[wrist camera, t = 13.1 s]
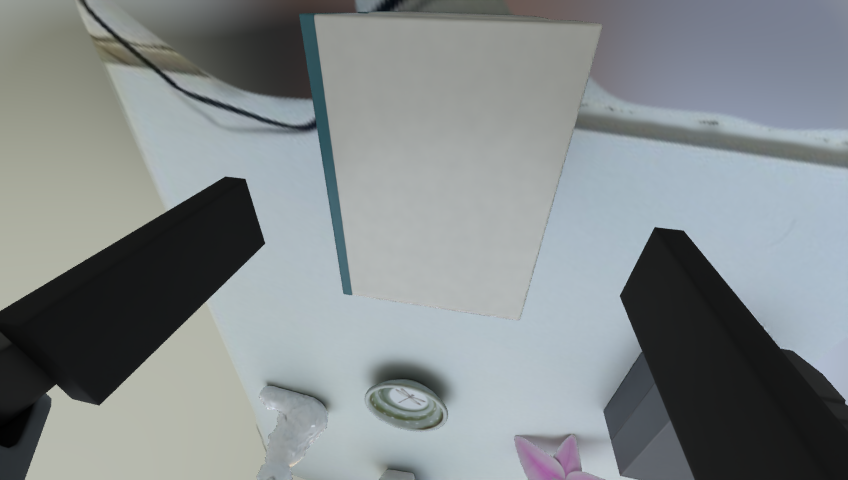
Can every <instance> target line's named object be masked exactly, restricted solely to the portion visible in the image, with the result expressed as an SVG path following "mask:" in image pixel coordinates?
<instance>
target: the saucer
mask: <svg viewBox="0 0 848 480" xmlns="http://www.w3.org/2000/svg"><path fill="white" fill-rule="evenodd" d="M365 404H366V406H367V408H368V410H369V411H370V412H371V413H372V414H373V415H374V416H375V417H377V418H378V419H379V420H381V421H383V422H385V423H387V424H389V425H391V426H394V427H396V428H400V429H403V430H408V431H416V432H425V431H432V430H435V429H438V428H440V427H441V426H443V425H444V424H445V423H446V421H447V418H448V411H447V408H446V406H445V404H444V403H443V402H442V401H441V400H440V399H439V397H438V396H437V395H436V394H435V393H434V392H433V391H431V390H430V389H428V388H427V387H425V386H424V385H422V384H421V383H419V382H416V381H413V380H409V379H398V380H389V381H385V382H382V383H380V384H377V385H375V386H373V387H371V388H370V389H369V390H368V391H367V393H366V395H365Z"/></svg>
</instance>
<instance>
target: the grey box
mask: <svg viewBox="0 0 848 480" xmlns="http://www.w3.org/2000/svg"><path fill="white" fill-rule="evenodd" d="M604 416H605V419H606V423H607V427H608V431H609V435H610V439H611V443H612V446H613V450H614V454H615V458H616V462H617V466H618V469H619V473H620V476H624V477H628V478H633V479H638V480H695V479H694V477H693V475H692V472H691V470H690V467H689V465H688V462H687V460H686V457H685V455H684V452H683V450H682V447H681V445H680V443H679V440H678V438H677V435H676V433H675V430H674V428H673V425H672V423H671V420H670V418H669V416H668V413H667V411H666V408H665V406H664V403H663V401H662V398H661V396H660V393H659V391H658V389H657V386H656V384H655V381H654V379H653V376H652V374H651V371H650V369H649V366H648V364H647V362H646V359H645V357H644V354H643V352H642V353H641V355H640V356H639V358H638V359H637V361H636V362H635V364H634V365H633V367H632V368H631V370H630V371H629V373H628V375H627V376H626V378H625V379H624V381H623V382H622V384H621V385H620V387H619V388H618V390H617V391H616V393H615V394H614V396H613V398H612V399H611V401H610V402H609V404H608V405H607V407H606V408H605V410H604Z"/></svg>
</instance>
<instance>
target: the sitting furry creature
mask: <svg viewBox="0 0 848 480" xmlns="http://www.w3.org/2000/svg"><path fill="white" fill-rule="evenodd" d="M259 398H261V401H262V402H263V404H264V405H265V406H266V409H273V410H277V411H279V414H278V417H277V425H276V428H275V430H274V432H272V433H271V434H270V435H269V437H268V439H269V443H268V449H267V451H266V458H265V462H266V463H265V464H264V465H262V466H261V469H260V471H259V474H258V475H257V480H292V479H293V478H292V472H291V469H290V468H291V467H292V466H294V465H295V464H296V463H298V462H299V460H300V459H301V458H303V457H304V456H305V452H306V450H307V449H308V448H309V446H310V445H311V444H312V443H314V442H315V440H316V438H318V437H319V436H320V435H321V433H322V432H323V431H324V430H325V429H326V428H327V422H328V412H327V411H326V409H325V407H324V405H323V404H322V403H321V402H320V401H319V400H317V399H316V398H314V397H310V396H308V395H303V394H300V393H297V392H293V391H289V390H286V389H282V388H279V387H276V386H265V387H264V388H263V389H262V390H261V392H260V395H259Z"/></svg>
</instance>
